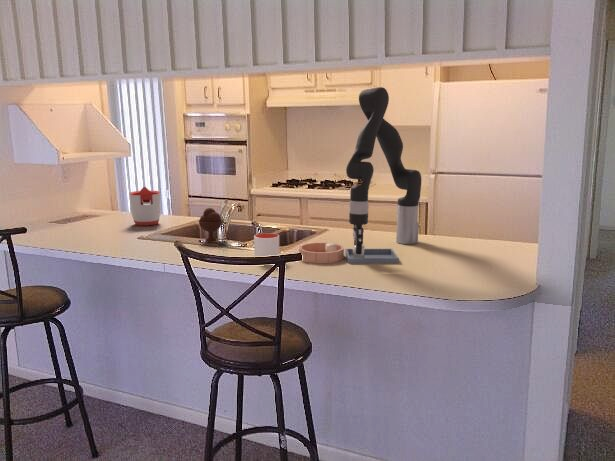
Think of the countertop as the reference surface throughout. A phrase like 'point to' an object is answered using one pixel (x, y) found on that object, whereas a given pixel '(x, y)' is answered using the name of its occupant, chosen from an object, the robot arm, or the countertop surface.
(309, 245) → the terracotta bowl
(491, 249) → the countertop surface
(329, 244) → the sandstone pebble
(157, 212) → the citrus juicer
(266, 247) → the cup
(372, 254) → the parts tray
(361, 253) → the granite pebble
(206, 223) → the ice cream bowl
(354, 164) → the robot arm
